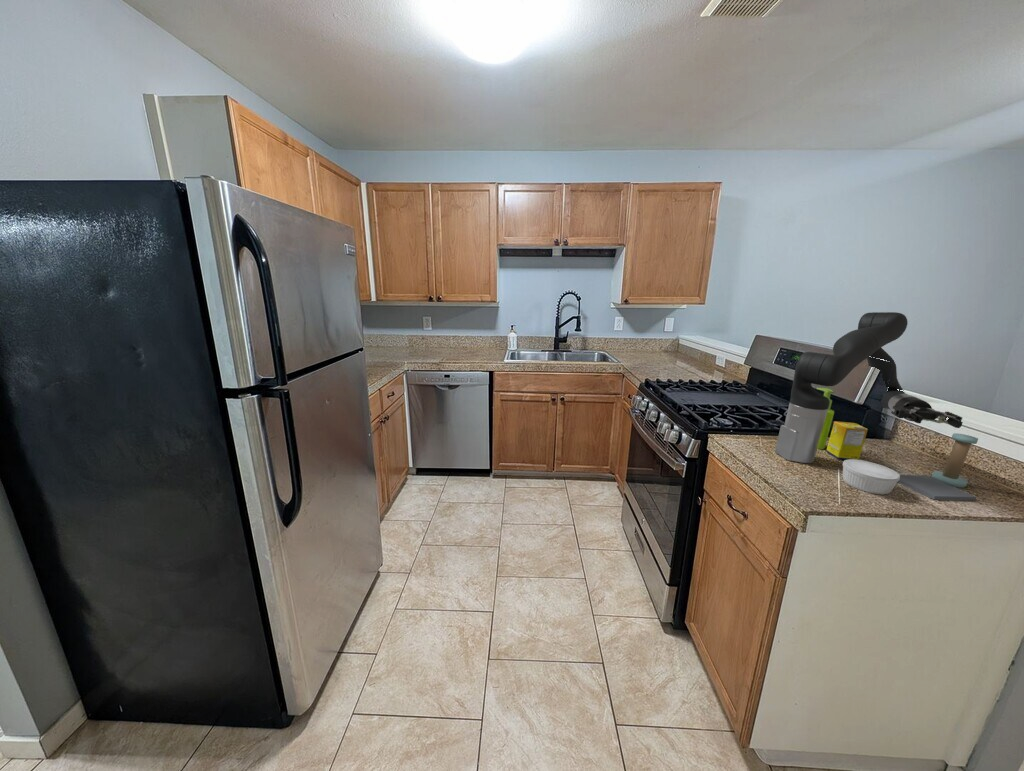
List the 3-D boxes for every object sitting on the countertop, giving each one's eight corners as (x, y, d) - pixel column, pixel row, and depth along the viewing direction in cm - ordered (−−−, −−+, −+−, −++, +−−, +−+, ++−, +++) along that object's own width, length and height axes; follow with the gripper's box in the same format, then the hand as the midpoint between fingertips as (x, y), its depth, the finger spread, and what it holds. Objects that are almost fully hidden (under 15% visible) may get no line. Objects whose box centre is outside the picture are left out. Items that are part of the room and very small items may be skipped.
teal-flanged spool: (950, 487, 98) (968, 440, 95) (924, 475, 105) (940, 431, 101) (973, 488, 98) (992, 441, 95) (945, 476, 105) (962, 432, 101)
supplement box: (845, 453, 118) (854, 422, 115) (858, 461, 112) (869, 429, 109) (824, 451, 119) (833, 420, 116) (837, 459, 113) (846, 427, 110)
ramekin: (855, 493, 94) (860, 475, 92) (829, 473, 104) (833, 456, 103) (906, 500, 92) (913, 481, 90) (874, 478, 102) (880, 461, 101)
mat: (933, 499, 92) (935, 496, 92) (889, 477, 103) (890, 474, 102) (975, 500, 92) (976, 496, 92) (926, 478, 103) (927, 475, 103)
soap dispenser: (814, 441, 127) (828, 387, 122) (828, 449, 121) (844, 392, 116) (796, 440, 128) (810, 386, 123) (810, 448, 121) (825, 391, 116)
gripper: (884, 393, 124) (911, 407, 110) (941, 399, 118) (977, 414, 104) (878, 414, 126) (904, 430, 112) (933, 420, 120) (968, 438, 106)
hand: (939, 422), depth 108 cm, fingers open, 8 cm apart
